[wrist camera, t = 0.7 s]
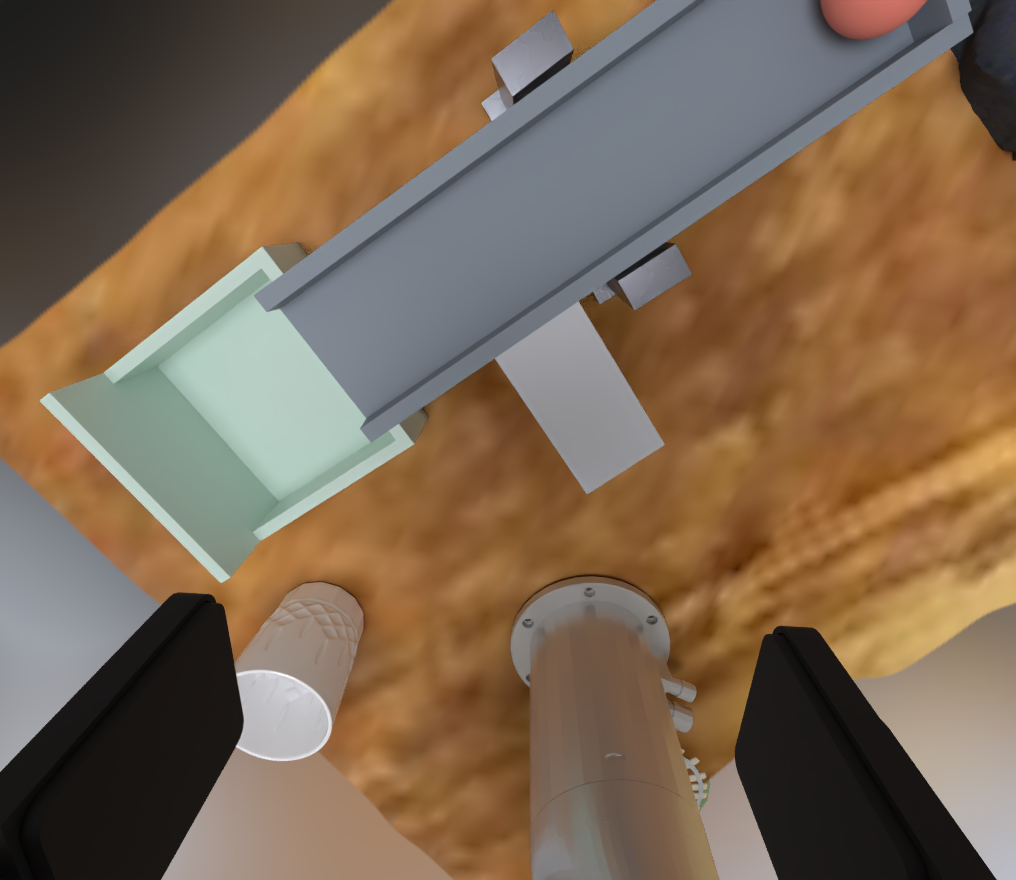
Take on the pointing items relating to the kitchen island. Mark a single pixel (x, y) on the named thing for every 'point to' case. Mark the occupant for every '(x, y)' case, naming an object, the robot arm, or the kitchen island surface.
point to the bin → (227, 420)
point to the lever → (582, 211)
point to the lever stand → (522, 74)
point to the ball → (868, 16)
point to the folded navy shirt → (991, 68)
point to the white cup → (298, 672)
